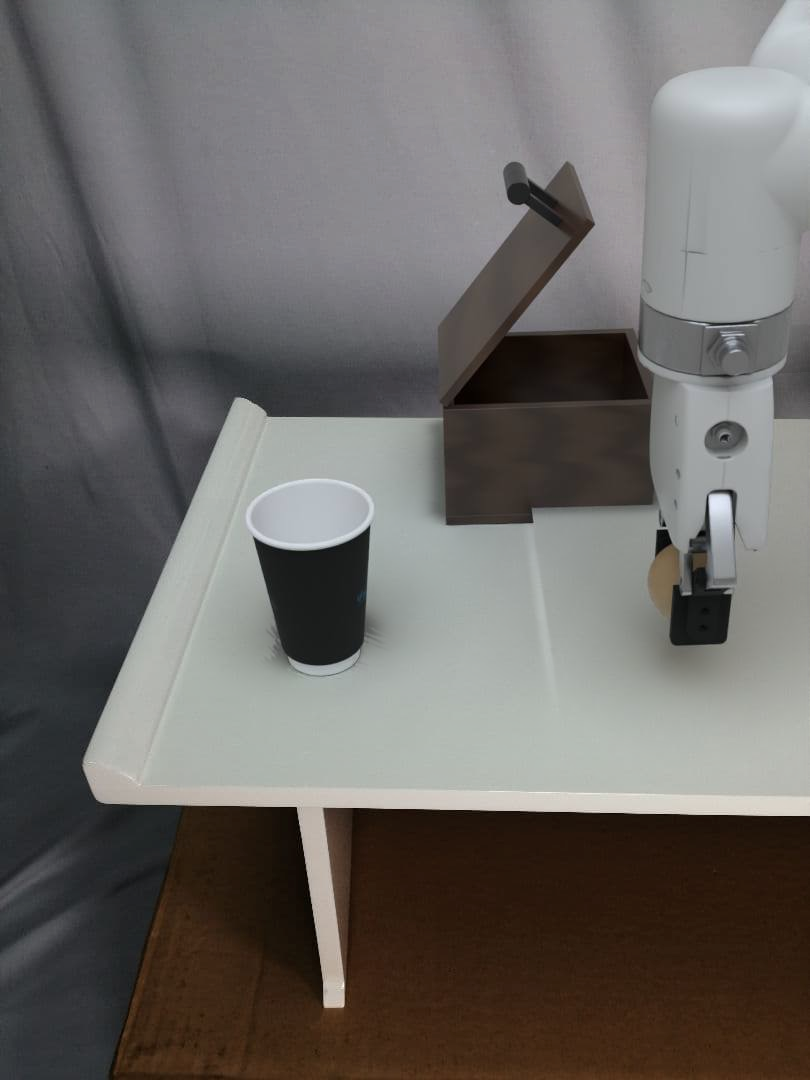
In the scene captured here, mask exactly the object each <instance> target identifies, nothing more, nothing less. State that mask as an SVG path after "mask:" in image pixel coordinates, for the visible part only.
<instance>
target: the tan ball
mask: <svg viewBox="0 0 810 1080" xmlns="http://www.w3.org/2000/svg"><path fill="white" fill-rule="evenodd" d="M679 557H680V551H679V550H678V549H677V548H676V547H675V546H674V545H673V544H671V545H669V546H667V547H666V548H664V549H663V550H662V551H661V552H660V553H659V554H658V555H657V556H656V557H655V556H654V559H653V560H652V563H651V564H650V566H649V570H648V574H647V591H648V594H649V598H650V601H652V603H653V605H654V607H655V608H656V609H657V610H658V611H659V613H661V614H662V615H663V616H664V617H666V618H667V619H669V620H670V619H671V606H672V593H673V585H678V584H679ZM706 564H707V553H694V554H693V571H694V570H695V569H696V568H698V567H705V566H706ZM735 588H736V586H735V587H733V592H732V598H733V596H734V593H735Z"/></svg>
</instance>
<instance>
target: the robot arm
mask: <svg viewBox="0 0 810 1080" xmlns="http://www.w3.org/2000/svg"><path fill="white" fill-rule="evenodd" d="M648 121H649V122H648V129H647V130H648V131H647V151H646V171H645V172H646V173H645V189H644V190H645V195H644V212H643V213H644V214H643V215H644V216H643V231H642V232H643V237H642V253H641V254H642V256H641V275H640V295H639V312H638V331H637V332H638V333H637V339H638V349H637V355H638V358H639V361H640V362H641V363H642V365H643V366H644V367H645V368H648V369H649V372H650V373H653V382H654V383H653V394H652V407H651V423H650V468H651V475H652V480H653V484H654V492H655V494H656V496H657V501H658V503H659V507H658V524H659V525H658V526H659V527H660V528H661V529H659V528H658V529H656V531H655V532H656V533H655V545H654V547H655V549H654V558H655V557H656V556H657V555H658V554H659V553H660V552H661V551H662V550H663V549H664V548H666V547H667V546H669V545H671V544H673V545H674V546H675V547H676V548H677V549H678V550H679V551H680V557H679V584H678V585H673V593H672V606H671V619H669V631H668V632H669V635H668V636H669V641H670V643H671V645H673V646H675V647H686V646H711V645H722V644H724V643H726V642H727V640H728V633H729V623H730V615H731V607H732V600H733V597H732V592H733V587H735V588H736V587H737V582H738V579H737V577H738V576H737V561H736V545H735V540H736V530H737V532H738V535H739V537H740V541H741V542H742V545H743V547H744V549H745V551H753V552H760V551H761V550H762V549H763V548H764V546H765V545H766V543H767V536H768V529H769V528H768V526H769V515H770V501H771V488H772V474H773V473H772V472H773V458H774V457H773V456H774V436H775V401H774V400H775V397H774V395H775V394H774V382H773V376H774V375H776V374H778V373H779V371H781V370H782V369H783V368H784V366H785V365H786V362H787V358H788V357H787V356H788V348H789V340H790V334H791V333H790V331H791V325H792V317H793V316H792V315H793V308H794V302H795V300H794V299H795V295H796V294H795V293H796V286H797V277H798V271H799V270H798V269H799V262H800V254H801V246H802V239H803V234H804V233H806V232H808V231H810V0H785V1H784V3H782V6H781V7H780V9H779V10H778V12H777V13H776V14H775V16H774V17H773V19H772V20H771V22H770V24H769V25H768V27H767V28H766V30H765V31H764V33H763V35H762V37H761V38H760V40H759V41H758V43H757V45H756V47H754V50H753V52H752V54H751V56H750V58H749V60H748V63H747V65H745V66H742V65H741V66H740V65H739V66H736V65H735V66H715V67H707V68H701V69H696V70H692V71H689V72H686V73H683V74H680V75H677V76H675V77H673V78H671V79H669V80H668V81H667V82H666V83H664V84H663V85H662V86H661V87H660V88H659V90H658V91H657V93H656V94H655V96H654V99H653V101H652V103H651V107H650V112H649V120H648ZM662 528H663V529H662ZM694 553H707V564H706V566H705V567H698V568H696V569H695V570H694V571H693V554H694Z"/></svg>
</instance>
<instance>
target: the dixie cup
mask: <svg viewBox="0 0 810 1080" xmlns="http://www.w3.org/2000/svg"><path fill="white" fill-rule="evenodd" d="M375 516H376V505H375V502H374V499H373V498H372V496H371V495H370V494H369V493H368V492H367V491H365V490H364V489H363V488H361V487H359V486H358V485H355V484H353V483H351V482H347V481H344V480H341V479H332V478H323V477H322V478H321V477H318V478H317V477H315V478H314V477H313V478H303V479H297V480H291V481H288V482H283V483H280V484H277V485H275V486H273V487H271V488H269V489H267V490H265V491H263V492H261V493H260V494H259V495H257V496H256V497H255V498H254V499H253V500H252V501H251V502H250V503H249V504H248V507H247V508H246V510H245V514H244V524H245V526H246V529H247V531H248V532H249V534H250V535H251V536H252V539H253V543H254V546H255V550H256V553H257V557H258V562H259V566H260V569H261V573H262V577H263V581H264V585H265V588H266V592H267V595H268V599H269V604H270V607H271V611H272V614H273V618H274V622H275V627H276V629H277V632H278V637H279V641H280V646H281V648H282V651H283V653H285V655H286V656H287V658H288V661H289V663H290V665H291V666H292V667H293V668H294V669H295V670H296V671H298V672H300V673H302V674H306V675H309V676H317V677H318V676H321V677H323V676H324V677H325V676H331V675H336V674H338V673H342V672H343V671H346V670H347V669H350V668H351V667H352V666H353V665H354V664H356V662H357V661H358V659H359V657H360V654H361V648H362V646H363V644H364V641H365V633H366V631H365V628H366V613H367V612H366V611H367V598H368V597H367V596H368V578H369V561H370V560H369V559H370V558H369V557H370V543H371V542H370V541H371V526H372V523H373V522H374V519H375Z"/></svg>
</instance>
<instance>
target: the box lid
mask: <svg viewBox="0 0 810 1080" xmlns="http://www.w3.org/2000/svg"><path fill="white" fill-rule="evenodd" d="M502 177H503V182H504V187H505V192H506V198H507V200H508V201H509V203H511V204H512V205H514V206H522V205H526V206H527V207H528V210H527V211H526V213H525V214H524V215H523V216H522V217H521V219H520V220H519V222H518V223H517V224H516V226H515V227H514V228H513V229H512V231H511V232H510V233H509V234H508V236H506V238H505V240H504V241H503V242H502V244H501V245H500V246H499V247H498V249H497V250H496V251H495V253H494V254H493V255H492V256H491V258H490V259H489V260H488V262H487V263H486V264H485V265H484V266H483V268H482V269H481V270H480V272H479V273H478V274H477V276H476V277H475V278H474V279H473V281H472V282H471V284H470V285H469V286H468V287H467V288H466V290H465V291H464V293H463V294H462V295H461V296H460V297H459V299H458V300H457V301H456V302H455V304H454V305H453V307H452V308H451V309H450V310H449V312H448V313H447V315H446V316H445V317H444V318H443V320H441V322H440V323H439V325H438V326H437V364H438V365H437V366H438V369H437V371H438V403H439V404H440V405H442V406H443V405H444V406H446V407H447V406H448V405H449V404H450V402H451V401H452V400H453V399H454V398H455V396H456V395H457V394H458V393H459V391H460V390H461V389H462V388H463V387H464V385H465V384H466V383H467V382H468V380H469V379H470V378H471V377H472V375H473V374H474V373H475V372H476V371H477V369H478V368H479V367H480V366H481V364H482V363H483V362H484V361H485V359H486V358H487V357H488V356H489V355H490V353H491V352H492V351H493V350H494V348H495V347H496V346H497V345H498V344H499V342H500V341H501V340H502V339H503V337H504V336H505V335H506V334H507V332H510V330H512V328H513V327H514V325H516V323H517V322H518V321H519V319H520V318H521V317H522V316H523V314H524V313H525V312H526V311H527V309H528V308H529V307H530V306H531V305H532V303H533V302H534V301H535V299H536V298H537V297H538V296H539V295H540V293H541V292H542V291H543V290H544V288H545V287H546V286H547V285H548V283H549V282H550V281H551V280H552V278H554V276H555V275H556V274H557V272H558V271H559V270H560V269H561V267H562V266H563V265H564V264H565V263H566V261H568V259H569V258H570V256H571V255H572V254H573V253H574V252H575V250H576V249H577V248H578V247H579V246H580V244H581V243H582V242H583V241H584V239H585V238H586V237H587V236H588V234H590V232H591V230H592V229H594V227H595V226H596V222H595V220H594V216H593V215H592V211H591V208H590V206H589V204H588V200H587V198H586V195H585V192H584V190H583V188H582V184H581V181H580V179H579V177H578V173H577V171H576V168H575V165H573V164H572V163H571V162H569V161H568V160H566V161H565V162H564V163H563V164H562V166H561V167H560V168H559V170H558V171H557V173H555V175H554V177H553V178H552V179H551V180H550V182H549V183H548V184H547V185H546V187H545V188H543V187H542V186H541V185H539V184H537V183H536V182H535V181H533V180H532V179H531V178H530V177H528V176H527V172H526V168H525V166H524V165H523V164H522V163H520V162H519V161H511V162H509V163H507V164H506V165H505V166H504V168H503V171H502Z"/></svg>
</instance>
